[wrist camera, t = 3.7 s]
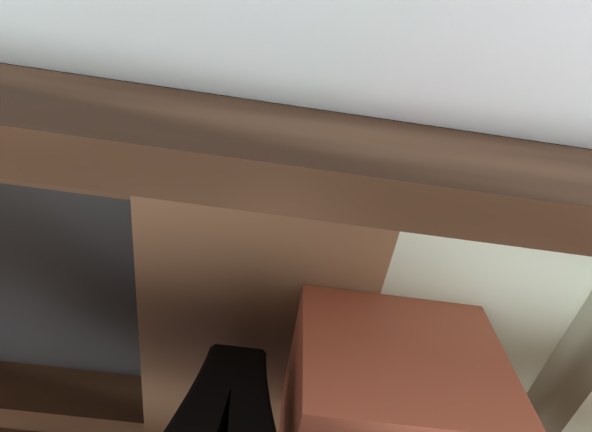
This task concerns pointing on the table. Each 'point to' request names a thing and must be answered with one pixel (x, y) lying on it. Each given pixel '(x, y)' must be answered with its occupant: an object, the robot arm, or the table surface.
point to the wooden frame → (262, 242)
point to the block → (398, 368)
